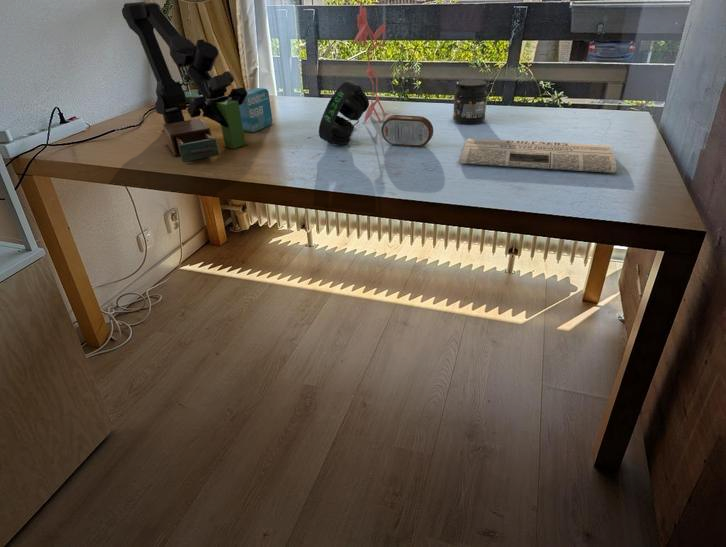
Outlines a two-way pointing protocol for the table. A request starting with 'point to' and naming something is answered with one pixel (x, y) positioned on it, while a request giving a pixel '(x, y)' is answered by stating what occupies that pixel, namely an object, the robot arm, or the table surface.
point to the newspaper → (539, 155)
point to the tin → (407, 130)
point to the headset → (343, 113)
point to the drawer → (196, 146)
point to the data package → (256, 110)
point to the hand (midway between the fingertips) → (234, 124)
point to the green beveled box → (232, 124)
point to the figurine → (361, 36)
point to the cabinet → (183, 131)
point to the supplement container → (470, 101)
